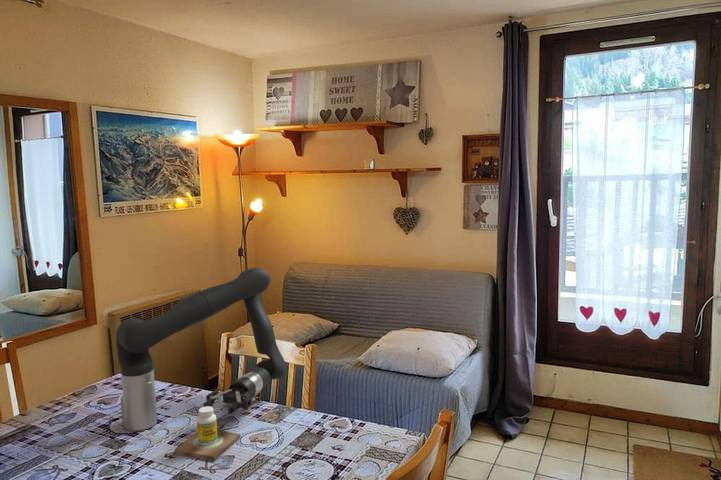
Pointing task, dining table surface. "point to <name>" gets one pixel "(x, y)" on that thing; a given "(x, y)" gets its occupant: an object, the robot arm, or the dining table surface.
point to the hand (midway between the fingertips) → (217, 409)
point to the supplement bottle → (207, 426)
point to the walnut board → (207, 446)
